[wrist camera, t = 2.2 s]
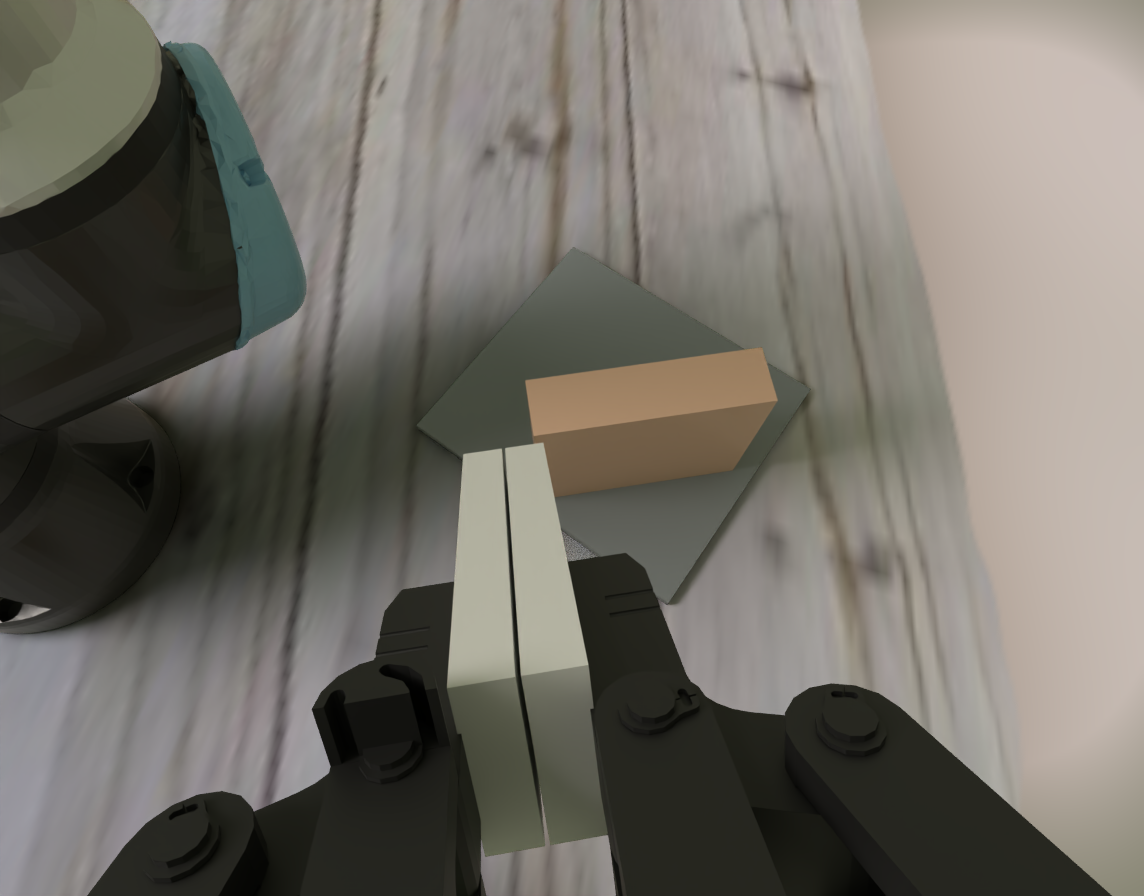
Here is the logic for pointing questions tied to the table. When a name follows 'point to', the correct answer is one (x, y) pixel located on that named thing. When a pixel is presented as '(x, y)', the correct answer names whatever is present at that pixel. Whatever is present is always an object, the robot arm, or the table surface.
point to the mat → (588, 343)
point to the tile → (649, 420)
